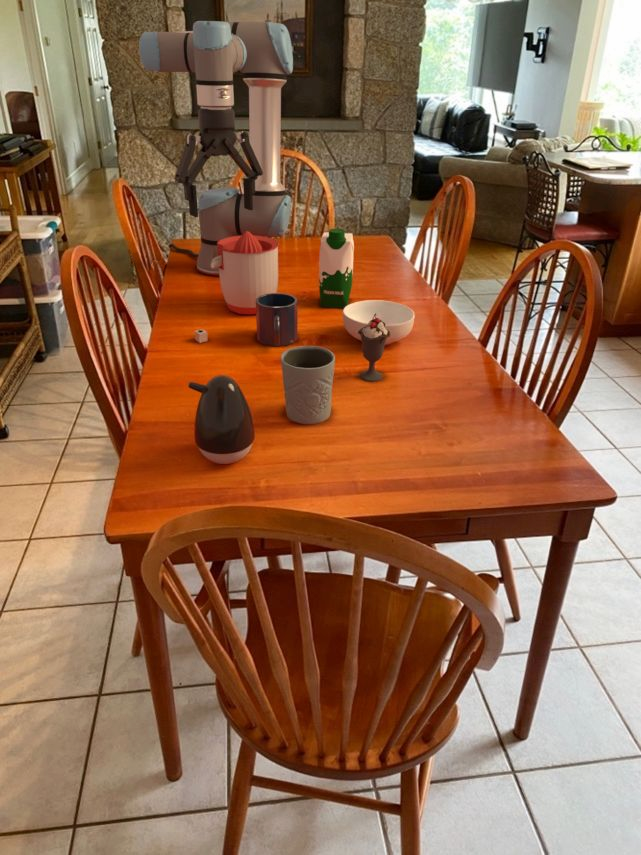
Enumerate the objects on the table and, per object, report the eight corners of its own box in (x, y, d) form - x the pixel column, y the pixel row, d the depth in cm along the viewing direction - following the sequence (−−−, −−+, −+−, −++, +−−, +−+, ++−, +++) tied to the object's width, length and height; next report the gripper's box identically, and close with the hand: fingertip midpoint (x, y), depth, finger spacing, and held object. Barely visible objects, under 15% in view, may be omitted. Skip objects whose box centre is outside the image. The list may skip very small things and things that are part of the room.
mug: (257, 330, 163) (256, 292, 158) (296, 329, 163) (296, 292, 158) (256, 353, 151) (254, 313, 146) (298, 352, 152) (298, 313, 147)
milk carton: (317, 308, 176) (318, 232, 165) (320, 296, 183) (321, 223, 173) (350, 310, 175) (353, 233, 165) (352, 298, 183) (355, 224, 172)
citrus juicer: (209, 301, 179) (203, 225, 169) (271, 294, 184) (269, 221, 173) (220, 322, 166) (214, 242, 156) (286, 315, 171) (286, 237, 161)
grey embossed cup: (315, 431, 122) (316, 373, 116) (270, 416, 127) (269, 359, 121) (343, 409, 130) (345, 353, 124) (300, 395, 134) (300, 340, 128)
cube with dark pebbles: (195, 340, 157) (194, 330, 156) (203, 338, 158) (202, 328, 157) (199, 343, 155) (199, 333, 154) (207, 340, 157) (207, 330, 155)
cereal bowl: (426, 339, 159) (429, 311, 156) (383, 360, 149) (385, 331, 145) (371, 320, 169) (373, 293, 165) (327, 339, 159) (327, 311, 155)
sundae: (366, 385, 138) (370, 318, 131) (350, 372, 143) (353, 307, 136) (392, 379, 141) (398, 313, 133) (376, 367, 146) (380, 302, 138)
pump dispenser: (197, 440, 119) (190, 364, 111) (255, 438, 120) (252, 362, 112) (192, 473, 111) (184, 392, 103) (255, 471, 111) (252, 391, 104)
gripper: (166, 111, 129) (176, 222, 140) (276, 107, 142) (278, 209, 152) (152, 108, 135) (162, 215, 145) (259, 104, 147) (261, 203, 158)
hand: (221, 212), depth 149 cm, fingers open, 13 cm apart
